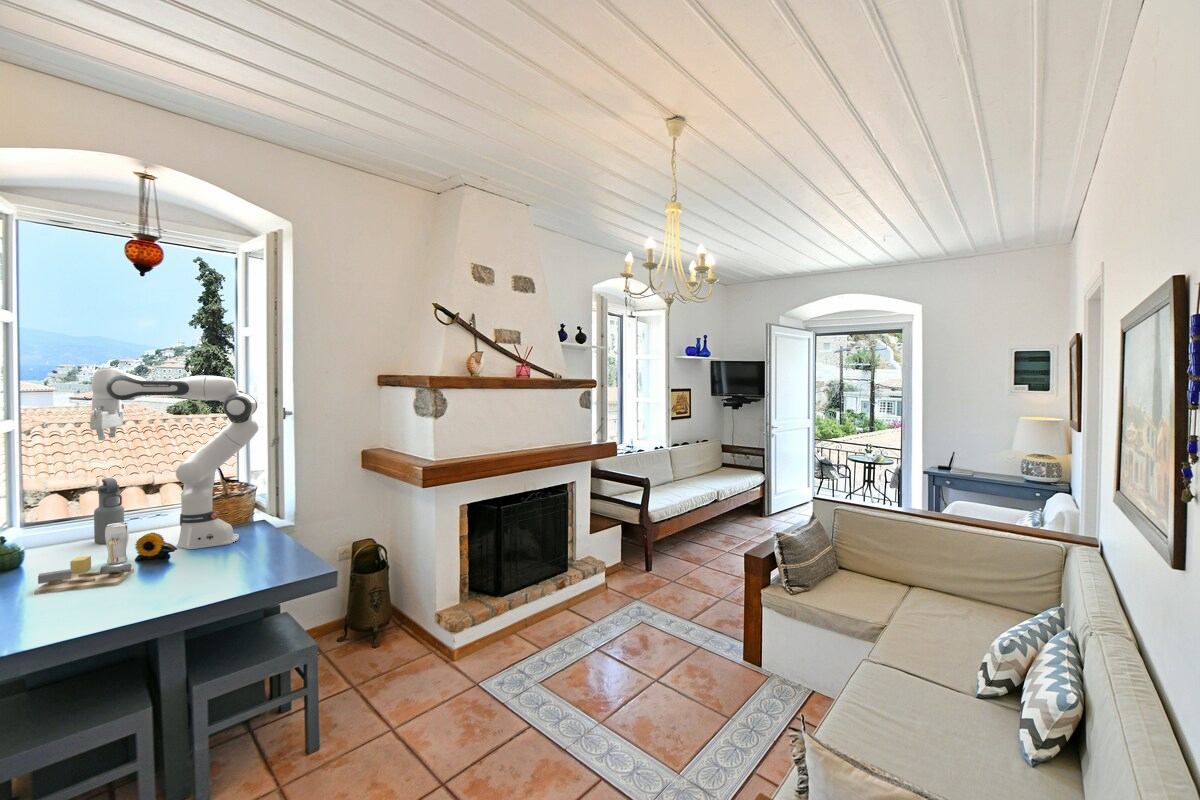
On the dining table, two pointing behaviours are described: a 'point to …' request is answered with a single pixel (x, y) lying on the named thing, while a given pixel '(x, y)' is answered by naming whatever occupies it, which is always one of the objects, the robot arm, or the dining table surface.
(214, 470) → the robot arm
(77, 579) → the board
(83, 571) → the yellow block
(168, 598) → the dining table surface
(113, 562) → the beer glass
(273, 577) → the dining table surface
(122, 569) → the shafts
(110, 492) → the water bottle
